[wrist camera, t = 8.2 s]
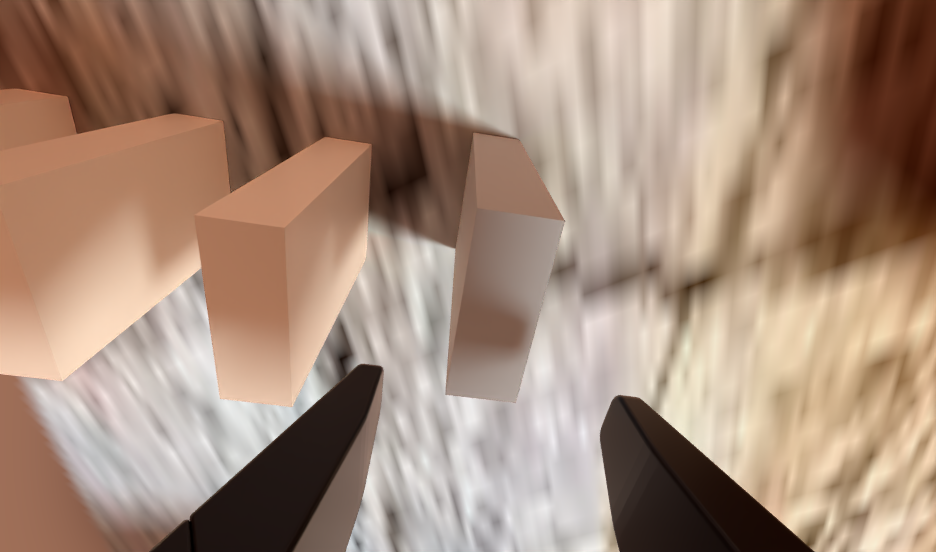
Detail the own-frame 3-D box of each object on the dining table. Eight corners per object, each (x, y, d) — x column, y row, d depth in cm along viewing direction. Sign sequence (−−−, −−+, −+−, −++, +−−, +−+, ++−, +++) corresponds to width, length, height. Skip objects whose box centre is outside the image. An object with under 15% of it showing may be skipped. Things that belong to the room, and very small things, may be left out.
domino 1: (235, 240, 17) (62, 380, 10) (192, 234, 17) (-15, 372, 9) (223, 120, 15) (-7, 187, 8) (174, 113, 15) (-106, 173, 7)
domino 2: (366, 258, 17) (292, 407, 10) (324, 252, 17) (220, 398, 10) (371, 144, 15) (284, 228, 8) (325, 136, 15) (193, 214, 8)
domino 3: (496, 254, 17) (515, 402, 10) (455, 249, 17) (445, 394, 10) (519, 139, 15) (564, 221, 8) (473, 132, 15) (477, 207, 8)
